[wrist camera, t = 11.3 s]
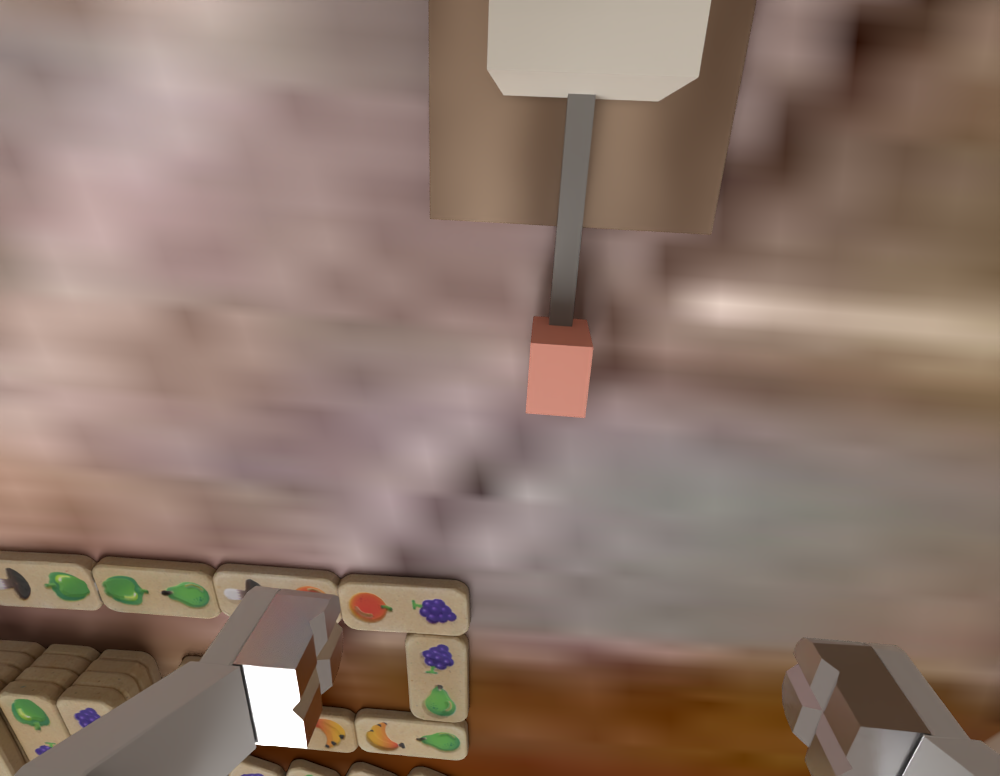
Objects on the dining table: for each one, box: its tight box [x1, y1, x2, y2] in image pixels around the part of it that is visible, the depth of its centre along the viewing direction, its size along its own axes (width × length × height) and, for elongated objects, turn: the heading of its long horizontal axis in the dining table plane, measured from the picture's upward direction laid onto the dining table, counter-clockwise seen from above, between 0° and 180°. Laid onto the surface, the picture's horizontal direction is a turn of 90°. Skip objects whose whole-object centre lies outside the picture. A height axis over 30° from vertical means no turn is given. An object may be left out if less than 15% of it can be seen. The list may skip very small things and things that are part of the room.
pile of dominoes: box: [0, 551, 470, 776], centre depth 36 cm, size 35×27×6 cm
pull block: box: [487, 0, 711, 418], centre depth 19 cm, size 6×19×6 cm, turn 177°
